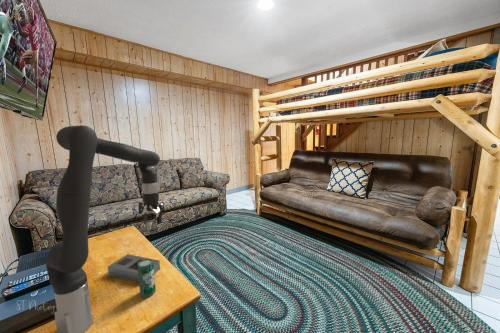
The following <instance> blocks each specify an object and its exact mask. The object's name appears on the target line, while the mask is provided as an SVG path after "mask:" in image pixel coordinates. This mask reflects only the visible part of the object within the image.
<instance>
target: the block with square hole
mask: <svg viewBox="0 0 500 333" xmlns="http://www.w3.org/2000/svg"><path fill="white" fill-rule="evenodd" d="M148 258H149V257H143V256H138V255H133V254H128V253H127V254H126V255H124V256H122V257H120V258H119V259H118V260H116V261H115V262H114V261H113V263H111V264H109V265H108V266H107V273H108V276H109V277H113V278H116V279H120V280H121V279H122V280H124V281H128V282H132V283H133V282H134V283H138V284H139V277H138V267H137V264H138V262H140V261H142V260H144V259H148ZM152 259H153V264H154V275H155V274H156V273H157V272H159V270H161V263H160V262H161V261H160V260H158V259H154V258H152Z"/></svg>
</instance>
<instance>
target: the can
mask: <svg viewBox="0 0 500 333" xmlns="http://www.w3.org/2000/svg"><path fill="white" fill-rule="evenodd" d="M147 258H148V259H144V260H142V261H140V262H138V264H137V267H138V277H139V283H138V285H139V286H138V287H139V296H140V297H141V298H142V299H146V298H151V297H152V296H154V294H155V293H156V291H157V290H156V278H155V276H156V275H155V274H154V264H153V259H154V258H149V257H147Z"/></svg>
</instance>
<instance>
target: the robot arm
mask: <svg viewBox="0 0 500 333" xmlns="http://www.w3.org/2000/svg"><path fill="white" fill-rule="evenodd" d="M55 140H56V142H57V143H58V145H59V146H60V147H61V148H62V149H64V150H67V151H68V152H69V153H68V154H69V155H68V164H67V168H66V170H65V172H64V173H63V176H62V178H61V179H60V182H59V183H58V185H57V190H56V191H57V192H56V200H55V201H56V203H55V209H56V214H57V218H58V220H59V223H60V226H61V229H62V230H61V231H62V241H61V242H58V243H56V244H54V245H53V246H52V247H51V248H50V249H49V250H48V252H47V253H46V257H45V267H46V271H47V276H48V279H49V284H50V285H51V287H52V288H53V293H54V300H55V306H56V311H55V312H54V313H53V314H54V320H55V325H56V332H57V333H85V332H86V331H87V330H88V329H89V328H90V327H91V326H92V324H93V321H94V320H93V314H92V303H91V298H90V290H89V282H88V274H87V272H86V271H85V270H84V269H83V267H84V265H85V264H86V263H87V261H88V257H89V235H88V234H89V232H88V229H89V228H88V226H89V217H90V216H89V215H90V213H89V212H90V205H91V204H90V202H91V193H92V192H91V190H92V177H93V166H94V162H95V161H94V160H95V156H96V154H98V155H103V156H107V157H109V158H114V159H117V160H122V161H126V162H129V163H137V165H138V168H139V171H140V174H141V184H142V185H141V192H142V193H141V194H142V197H141V198H142V201H140V202H138V204H137V205H138V214H141V215H142V217H141V218H142V222H144V223H147V221H148V212H153V213H154V214H155V215H156V224H158V225H159V224H161V223H162V222H163V221H162V219H163V218H162V216H164V215H165V214H166V210H165V204H164V202H162V203H159V199H160V192H159V190H160V189H159V184H158V183H159V182H158V180H159V179H158V173H157V171H156V170H153V168H152V167H155V166H157V165H159V163H160V161H161V158H160V155H159V154H158V152H154V151H152V150H147V149H141V148H138V147H135V146H133V145H129V144H126V143H121V142H118V141H117V142H116V141H112V140H111V141H110V140H106V139H102V138H99V137H98V136H97V133H96V131H95V130H94V129H93V128H92V127H90V126H88V125H83V124H82V125H69V126H65V127H63V128H60V129H59V130H58V131H57V133H56V139H55Z"/></svg>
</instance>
